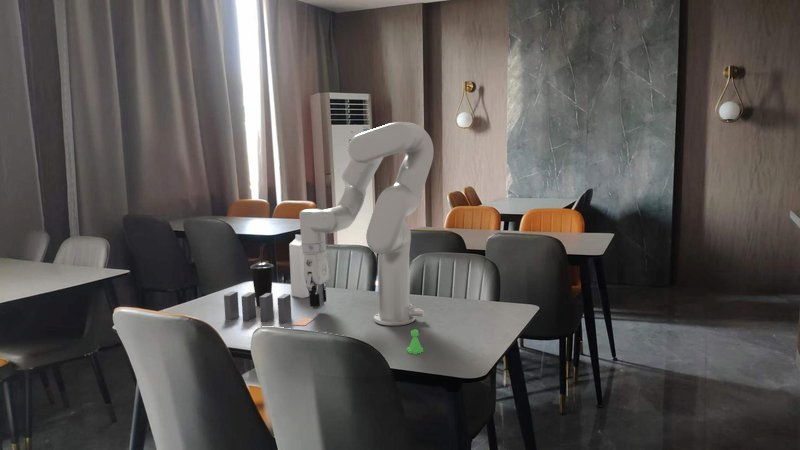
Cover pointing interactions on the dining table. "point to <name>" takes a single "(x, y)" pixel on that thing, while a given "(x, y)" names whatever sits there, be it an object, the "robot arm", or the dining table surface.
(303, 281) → the milk
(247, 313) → the domino
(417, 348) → the game piece
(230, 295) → the domino
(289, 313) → the domino
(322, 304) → the domino
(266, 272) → the drinking cup
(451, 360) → the dining table surface
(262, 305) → the domino
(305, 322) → the head marker
